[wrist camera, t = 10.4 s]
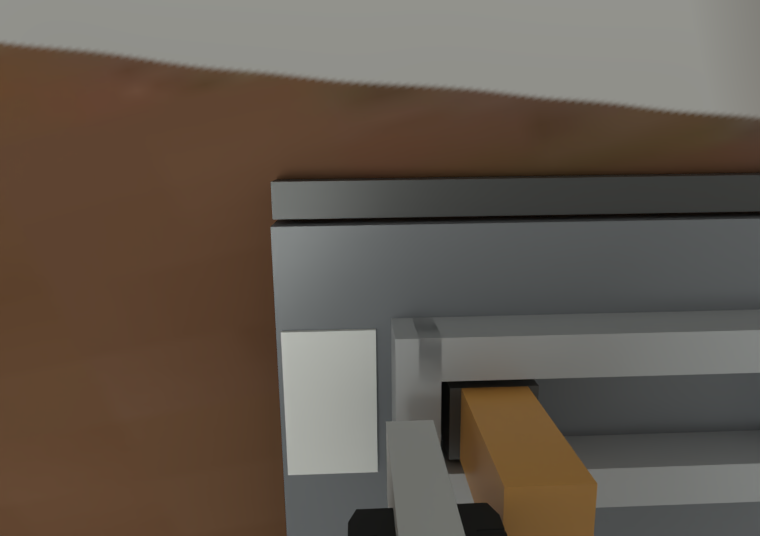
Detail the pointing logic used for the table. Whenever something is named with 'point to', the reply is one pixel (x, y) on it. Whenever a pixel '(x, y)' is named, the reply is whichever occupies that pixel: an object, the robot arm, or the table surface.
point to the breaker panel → (531, 283)
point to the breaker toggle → (517, 458)
